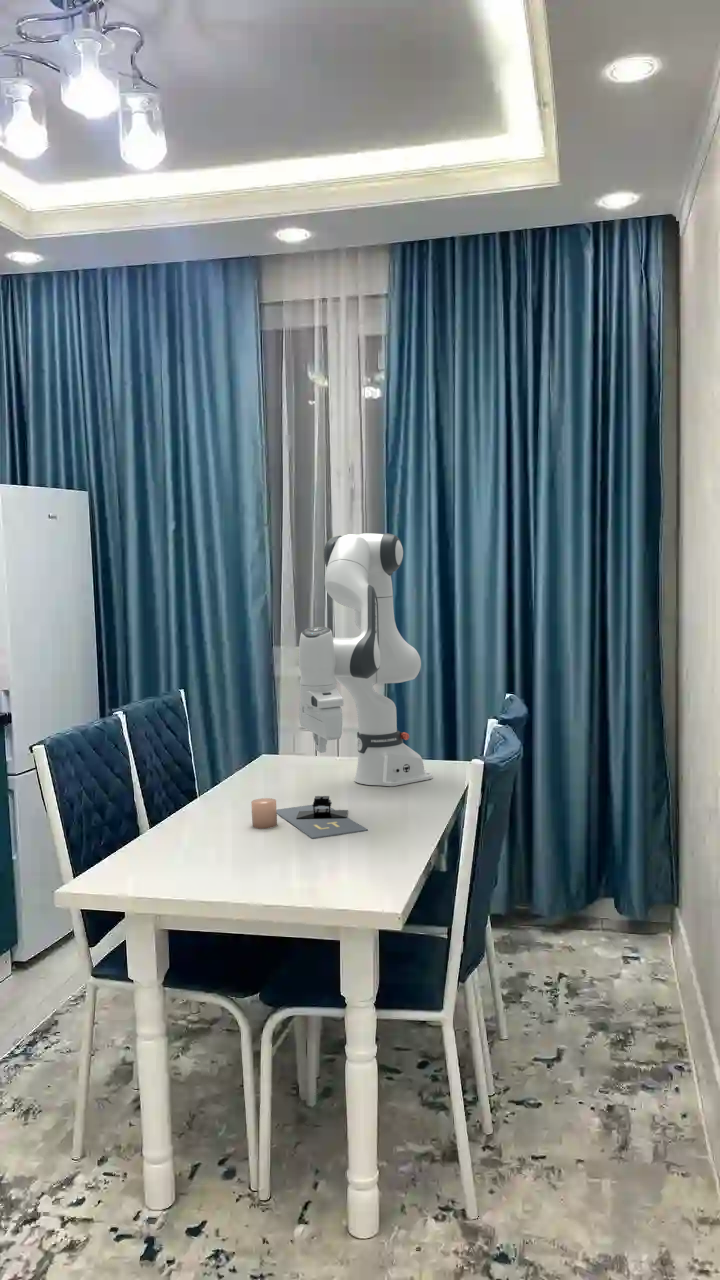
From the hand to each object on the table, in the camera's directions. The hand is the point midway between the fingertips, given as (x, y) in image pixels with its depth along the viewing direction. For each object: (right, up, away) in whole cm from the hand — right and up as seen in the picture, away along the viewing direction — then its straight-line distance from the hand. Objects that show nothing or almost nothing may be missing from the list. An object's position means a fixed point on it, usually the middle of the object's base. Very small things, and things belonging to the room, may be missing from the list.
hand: (320, 751), depth 243 cm
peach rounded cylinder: (-14, -18, +1) cm, 23 cm away
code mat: (-1, -17, +4) cm, 18 cm away
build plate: (0, -17, +8) cm, 19 cm away
